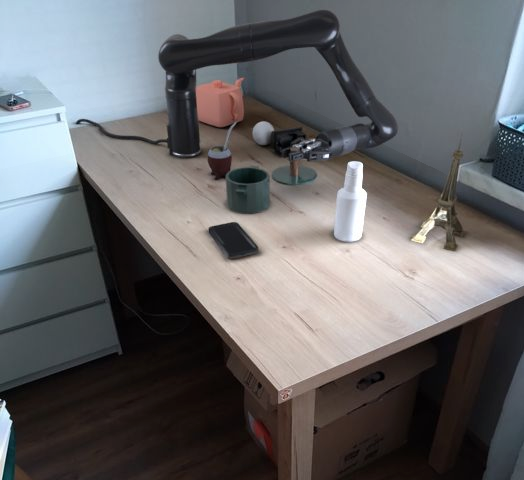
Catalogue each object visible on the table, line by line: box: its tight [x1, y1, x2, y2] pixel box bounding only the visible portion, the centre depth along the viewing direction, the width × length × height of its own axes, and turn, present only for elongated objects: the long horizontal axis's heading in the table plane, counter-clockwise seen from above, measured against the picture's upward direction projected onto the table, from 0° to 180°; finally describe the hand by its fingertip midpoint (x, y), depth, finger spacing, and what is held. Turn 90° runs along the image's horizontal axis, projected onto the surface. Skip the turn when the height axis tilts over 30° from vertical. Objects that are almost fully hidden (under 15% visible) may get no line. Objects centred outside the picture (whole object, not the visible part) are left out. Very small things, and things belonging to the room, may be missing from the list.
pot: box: [225, 165, 271, 215], centre depth 146 cm, size 11×17×8 cm
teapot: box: [196, 77, 245, 128], centre depth 197 cm, size 20×19×14 cm
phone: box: [208, 221, 259, 260], centre depth 132 cm, size 8×1×15 cm
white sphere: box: [250, 120, 275, 146], centre depth 181 cm, size 10×7×7 cm
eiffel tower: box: [410, 132, 467, 252], centre depth 126 cm, size 11×11×25 cm
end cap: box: [270, 126, 307, 158], centre depth 175 cm, size 10×7×7 cm
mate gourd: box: [207, 121, 238, 181], centre depth 158 cm, size 8×8×15 cm
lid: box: [271, 147, 318, 187], centre depth 150 cm, size 13×13×8 cm
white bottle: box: [333, 160, 368, 243], centre depth 129 cm, size 7×7×18 cm
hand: (286, 155), depth 147 cm, fingers closed on lid, 2 cm apart
